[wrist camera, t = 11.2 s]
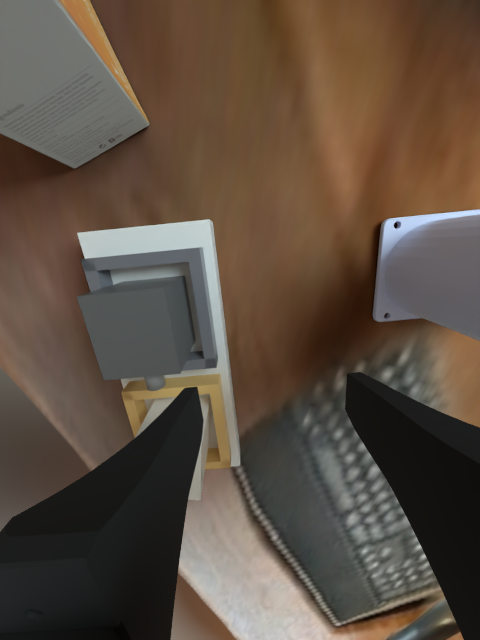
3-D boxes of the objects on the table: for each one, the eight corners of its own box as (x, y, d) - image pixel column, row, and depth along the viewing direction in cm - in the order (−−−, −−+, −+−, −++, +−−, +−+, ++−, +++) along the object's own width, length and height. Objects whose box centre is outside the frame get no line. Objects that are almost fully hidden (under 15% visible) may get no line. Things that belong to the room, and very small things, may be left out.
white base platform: (212, 222, 17) (206, 216, 14) (240, 448, 24) (240, 481, 21) (94, 234, 17) (60, 231, 14) (155, 455, 24) (142, 488, 21)
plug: (210, 397, 20) (201, 446, 15) (208, 456, 22) (200, 515, 17) (157, 394, 20) (131, 443, 15) (160, 454, 22) (138, 513, 17)
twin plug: (184, 275, 16) (163, 288, 12) (198, 357, 18) (185, 397, 14) (123, 281, 16) (76, 296, 12) (143, 362, 19) (111, 403, 14)
